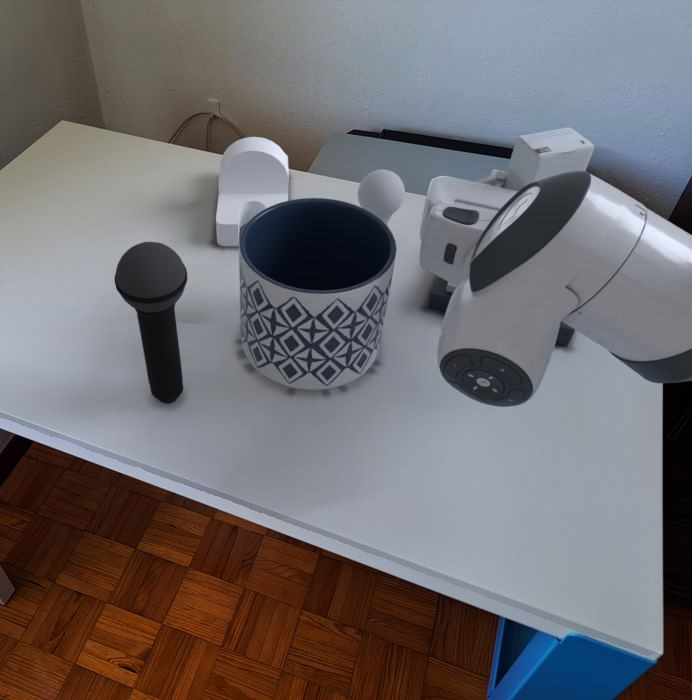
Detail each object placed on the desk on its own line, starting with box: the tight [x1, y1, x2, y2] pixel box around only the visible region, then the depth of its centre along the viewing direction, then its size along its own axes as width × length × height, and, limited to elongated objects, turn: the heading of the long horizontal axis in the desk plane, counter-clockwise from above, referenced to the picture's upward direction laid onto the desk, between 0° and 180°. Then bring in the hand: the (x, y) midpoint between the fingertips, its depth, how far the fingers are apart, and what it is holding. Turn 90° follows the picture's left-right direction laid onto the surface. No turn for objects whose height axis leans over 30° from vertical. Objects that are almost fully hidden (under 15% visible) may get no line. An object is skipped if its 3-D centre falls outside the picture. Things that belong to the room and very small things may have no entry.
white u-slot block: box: [215, 136, 290, 247], centre depth 95 cm, size 10×18×10 cm, turn 176°
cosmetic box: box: [503, 126, 595, 191], centre depth 70 cm, size 6×4×12 cm
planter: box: [238, 197, 398, 391], centre depth 74 cm, size 16×16×14 cm
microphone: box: [114, 241, 188, 405], centre depth 67 cm, size 7×7×20 cm
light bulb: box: [357, 169, 406, 226], centre depth 89 cm, size 6×6×10 cm
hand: (539, 184), depth 70 cm, fingers closed on cosmetic box, 7 cm apart
